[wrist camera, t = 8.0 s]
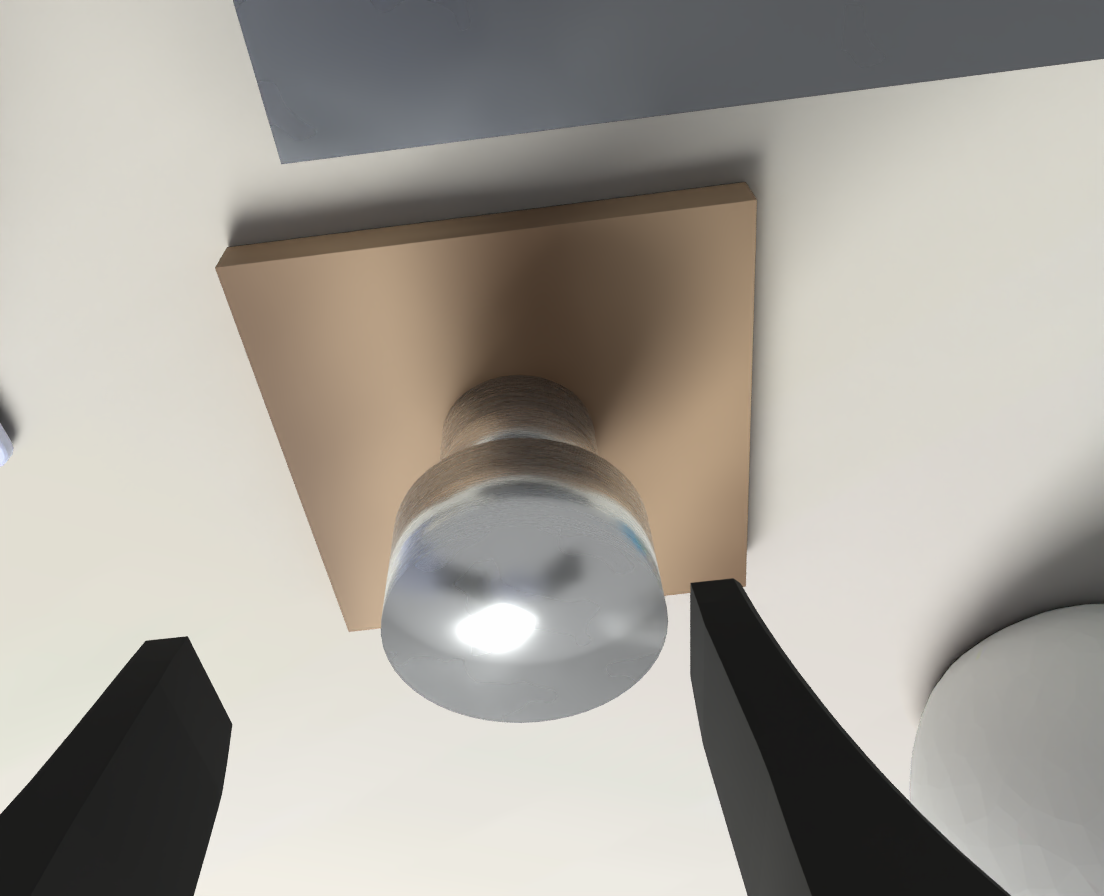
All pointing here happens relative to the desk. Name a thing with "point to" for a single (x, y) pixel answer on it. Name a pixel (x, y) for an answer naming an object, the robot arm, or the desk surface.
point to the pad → (512, 361)
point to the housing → (612, 59)
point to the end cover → (522, 564)
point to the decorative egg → (1021, 754)
